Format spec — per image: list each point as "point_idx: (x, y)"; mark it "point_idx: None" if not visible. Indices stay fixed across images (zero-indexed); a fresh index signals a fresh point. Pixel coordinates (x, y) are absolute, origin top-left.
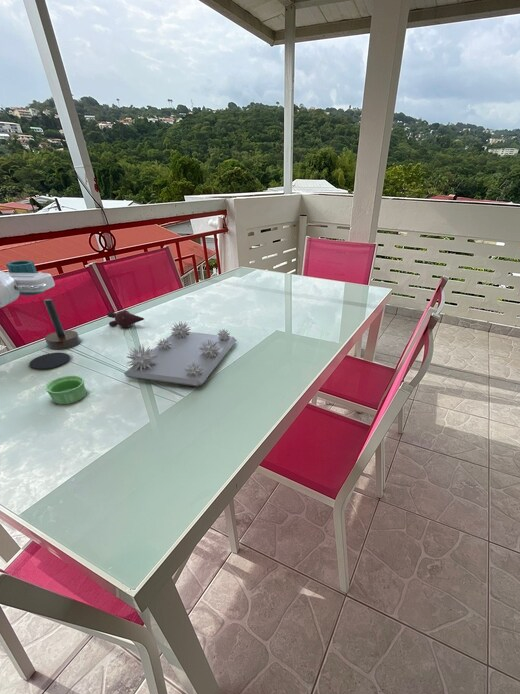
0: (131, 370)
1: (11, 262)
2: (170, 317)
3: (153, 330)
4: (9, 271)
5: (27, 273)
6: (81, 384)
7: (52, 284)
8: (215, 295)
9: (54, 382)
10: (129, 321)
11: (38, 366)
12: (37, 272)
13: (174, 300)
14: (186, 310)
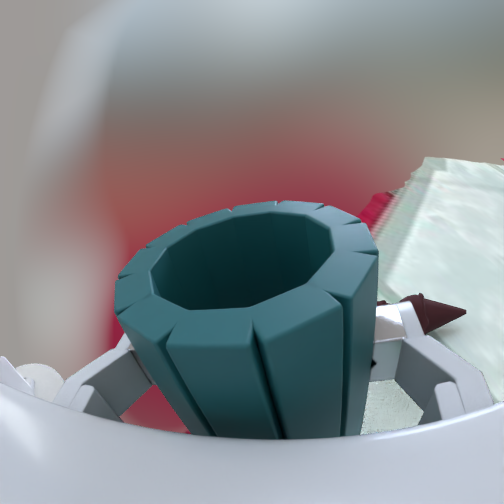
0: None
1: (156, 253)
2: (468, 280)
3: (483, 338)
4: (150, 374)
5: (456, 470)
6: None
7: None
8: (464, 207)
9: None
10: (435, 326)
11: None
12: (390, 317)
13: (418, 227)
14: (470, 252)
